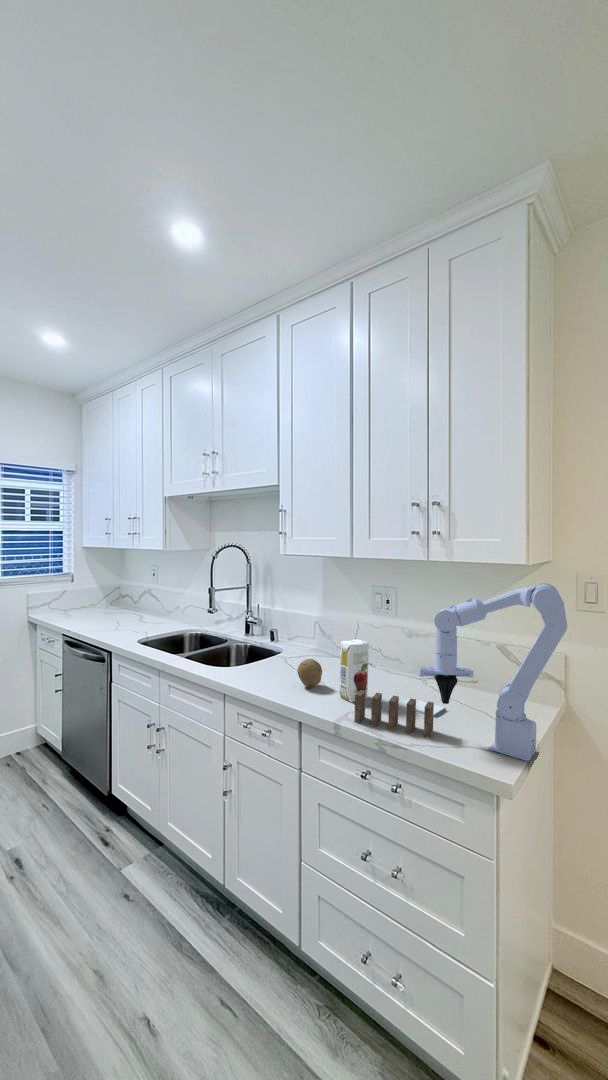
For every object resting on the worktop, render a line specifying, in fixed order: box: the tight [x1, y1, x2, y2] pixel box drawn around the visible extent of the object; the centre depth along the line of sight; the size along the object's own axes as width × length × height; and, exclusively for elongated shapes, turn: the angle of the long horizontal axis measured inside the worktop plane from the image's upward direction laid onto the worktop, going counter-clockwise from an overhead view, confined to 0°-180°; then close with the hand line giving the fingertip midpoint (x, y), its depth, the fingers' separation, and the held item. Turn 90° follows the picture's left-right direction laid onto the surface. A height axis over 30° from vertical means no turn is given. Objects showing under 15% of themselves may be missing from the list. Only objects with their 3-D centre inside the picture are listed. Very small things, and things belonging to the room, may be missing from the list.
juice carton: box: [339, 639, 370, 703], centre depth 156 cm, size 8×9×19 cm
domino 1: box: [353, 690, 366, 724], centre depth 138 cm, size 2×5×8 cm, turn 155°
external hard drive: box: [398, 697, 447, 718], centre depth 149 cm, size 2×8×12 cm
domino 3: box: [387, 695, 400, 731], centre depth 134 cm, size 2×5×8 cm, turn 155°
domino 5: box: [423, 701, 435, 738], centre depth 130 cm, size 2×5×8 cm, turn 155°
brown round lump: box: [296, 658, 323, 689], centre depth 167 cm, size 9×9×10 cm
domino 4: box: [405, 697, 417, 734], centre depth 132 cm, size 2×5×8 cm, turn 155°
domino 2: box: [370, 692, 383, 727], centre depth 136 cm, size 2×5×8 cm, turn 155°
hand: (445, 702), depth 128 cm, fingers closed
